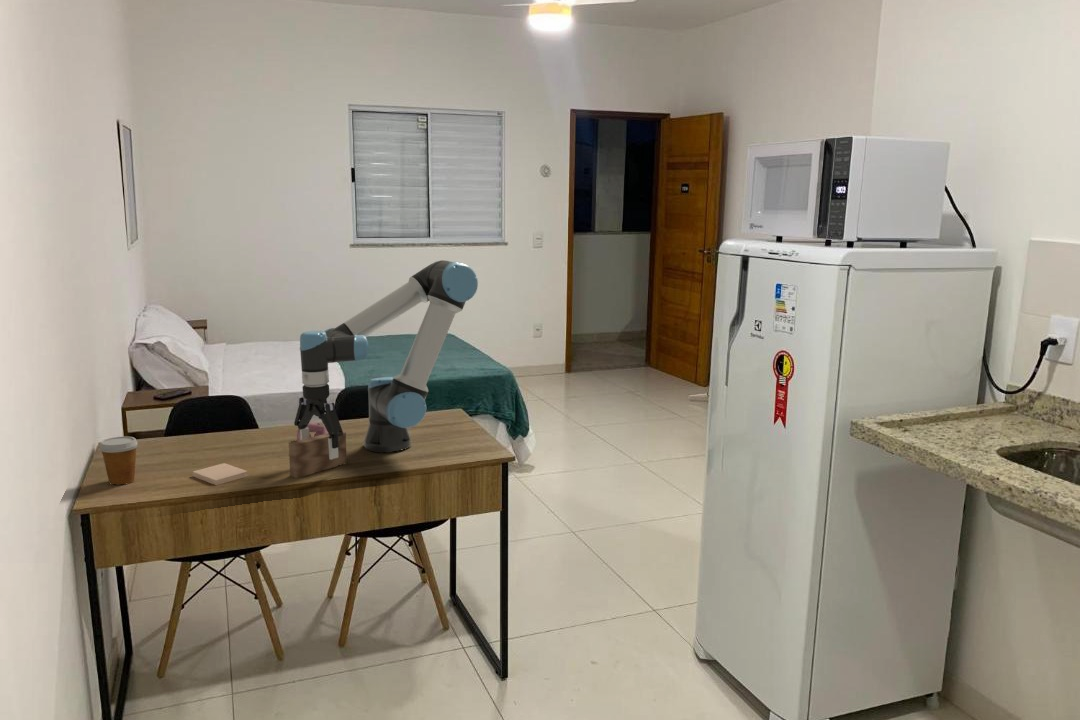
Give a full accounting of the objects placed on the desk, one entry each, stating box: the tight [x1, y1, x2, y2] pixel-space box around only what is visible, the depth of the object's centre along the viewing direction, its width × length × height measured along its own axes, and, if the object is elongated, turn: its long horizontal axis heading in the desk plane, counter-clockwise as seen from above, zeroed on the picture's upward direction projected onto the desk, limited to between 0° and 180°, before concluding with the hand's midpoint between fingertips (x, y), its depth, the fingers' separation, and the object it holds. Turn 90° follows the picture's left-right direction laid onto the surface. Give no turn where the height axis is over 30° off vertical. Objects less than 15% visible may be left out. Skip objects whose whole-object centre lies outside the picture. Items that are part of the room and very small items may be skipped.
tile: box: [192, 462, 249, 486], centre depth 229 cm, size 2×12×10 cm
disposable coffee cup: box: [99, 436, 139, 485], centre depth 223 cm, size 10×10×12 cm
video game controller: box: [296, 422, 328, 441], centre depth 266 cm, size 10×5×7 cm, turn 101°
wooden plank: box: [288, 431, 348, 479], centre depth 236 cm, size 18×3×10 cm, turn 142°
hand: (319, 453), depth 236 cm, fingers open, 13 cm apart
